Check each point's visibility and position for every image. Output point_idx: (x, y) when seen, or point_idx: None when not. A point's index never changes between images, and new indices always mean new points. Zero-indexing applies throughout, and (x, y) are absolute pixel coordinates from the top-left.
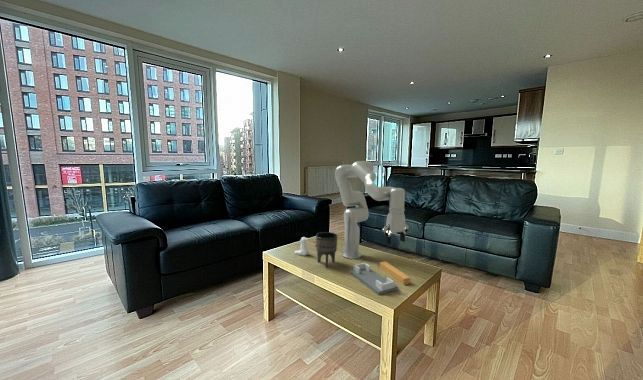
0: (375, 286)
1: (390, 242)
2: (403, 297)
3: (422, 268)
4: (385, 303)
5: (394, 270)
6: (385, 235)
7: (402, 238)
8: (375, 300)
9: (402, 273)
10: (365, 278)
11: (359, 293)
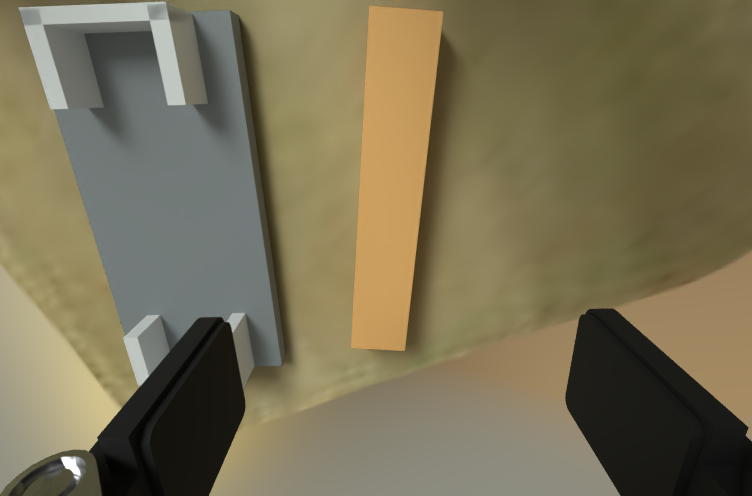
0: (144, 318)
1: (226, 437)
2: (265, 414)
3: (688, 189)
4: None
5: (381, 222)
6: (37, 485)
7: (600, 423)
8: (110, 388)
9: (402, 285)
10: (118, 204)
11: (43, 310)
